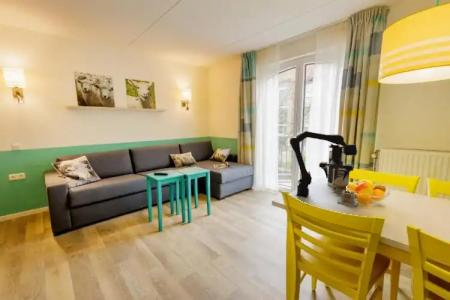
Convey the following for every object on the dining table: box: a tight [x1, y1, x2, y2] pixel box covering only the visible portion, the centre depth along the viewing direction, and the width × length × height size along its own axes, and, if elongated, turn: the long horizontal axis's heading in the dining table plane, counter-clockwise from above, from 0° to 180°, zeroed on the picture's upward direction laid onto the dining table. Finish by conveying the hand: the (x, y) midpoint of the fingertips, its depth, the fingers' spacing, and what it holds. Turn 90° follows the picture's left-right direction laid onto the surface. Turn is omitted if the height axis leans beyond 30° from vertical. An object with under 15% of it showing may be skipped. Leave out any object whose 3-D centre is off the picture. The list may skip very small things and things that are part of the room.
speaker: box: [327, 150, 346, 188], centre depth 158 cm, size 11×10×26 cm
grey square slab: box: [337, 193, 359, 208], centre depth 128 cm, size 10×10×5 cm
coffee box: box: [332, 168, 351, 194], centre depth 145 cm, size 9×6×16 cm
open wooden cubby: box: [341, 190, 355, 203], centre depth 128 cm, size 6×6×6 cm
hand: (335, 179), depth 134 cm, fingers open, 9 cm apart
